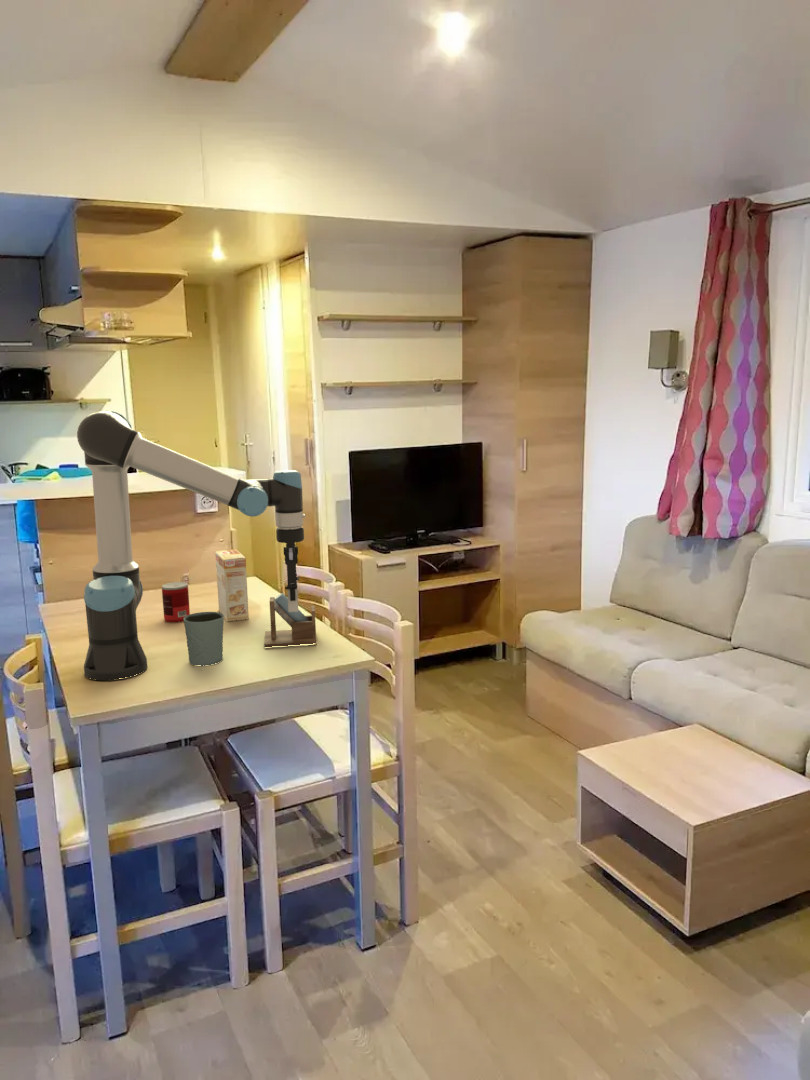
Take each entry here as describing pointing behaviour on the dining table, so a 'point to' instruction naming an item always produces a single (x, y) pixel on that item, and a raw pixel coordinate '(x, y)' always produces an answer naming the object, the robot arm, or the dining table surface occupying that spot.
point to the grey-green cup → (204, 637)
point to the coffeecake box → (232, 585)
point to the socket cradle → (296, 636)
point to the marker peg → (283, 603)
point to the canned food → (175, 601)
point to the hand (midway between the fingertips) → (293, 607)
